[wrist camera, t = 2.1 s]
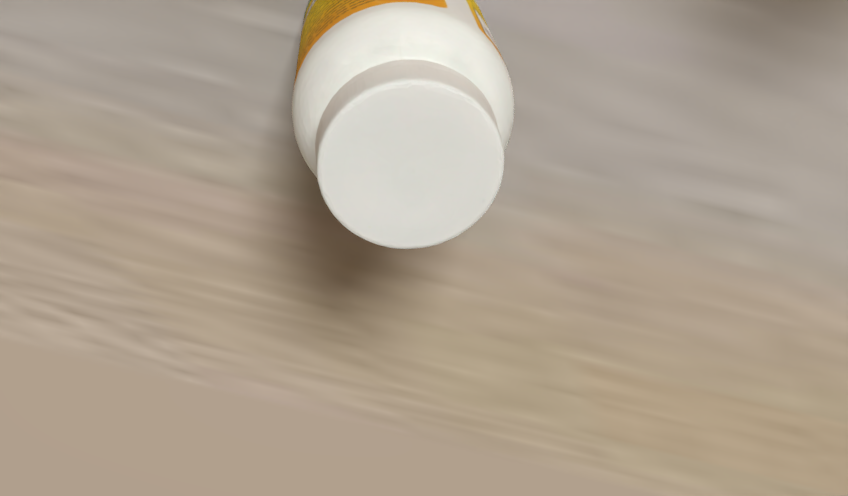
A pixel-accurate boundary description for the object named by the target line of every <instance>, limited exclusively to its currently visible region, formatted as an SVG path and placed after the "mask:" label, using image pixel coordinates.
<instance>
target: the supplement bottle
mask: <svg viewBox="0 0 848 496" xmlns="http://www.w3.org/2000/svg"><path fill="white" fill-rule="evenodd" d="M513 120H514V96H513V89H512V84H511V80H510V76H509V73H508V70H507V68H506V66H505V63H504V61H503V58H502V56H501V54H500V52H499V50H498V48H497V45H496V43H495V41H494V39H493V37H492V35H491V33H490V31H489V29H488V27H487V24H486V22H485V20H484V18H483V15H482V13H481V11H480V9H479V7H478V5H477V2H476V0H309V2H308V5H307V8H306V12H305V17H304V22H303V28H302V34H301V42H300V48H299V55H298V62H297V70H296V77H295V83H294V89H293V96H292V122H293V128H294V134H295V138H296V141H297V144H298V147H299V149H300V152H301V154H302V156H303V158H304V160H305V162H306V163H307V165H308V167H309V168H310V170H311V171H312V172H313V174H314V175H315V176H316V177H317V180H318V185H319V188H320V191H321V194H322V197H323V199H324V201H325V203H326V204H327V206H328V208H329V210H330V211H331V213H332V214H333V215H334V216H335V217H336V219H337V220H338V221H339V222H340V223H341V224H342V225H343V226H345V227H346V228H347V229H348V230H349V231H351V232H352V233H354V234H355V235H357V236H359V237H360V238H362V239H364V240H367V241H369V242H372V243H374V244H377V245H381V246H385V247H389V248H396V249H415V248H424V247H431V246H434V245H438V244H441V243H444V242H446V241H448V240H450V239H453V238H455V237H457V236H458V235H460V234H461V233H463V232H465V231H466V230H467V229H469V228H470V227H471V226H472V225H474V224H475V223H476V222H477V221H478V220H479V219H480V218H481V217H482V216H483V215H484V214H485V212H486V211H487V210H488V208H489V207H490V206H491V204H492V202H493V201H494V199H495V197H496V195H497V193H498V190H499V188H500V185H501V181H502V177H503V171H504V152H505V150H506V147H507V145H508V142H509V139H510V135H511V131H512V126H513Z"/></svg>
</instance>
